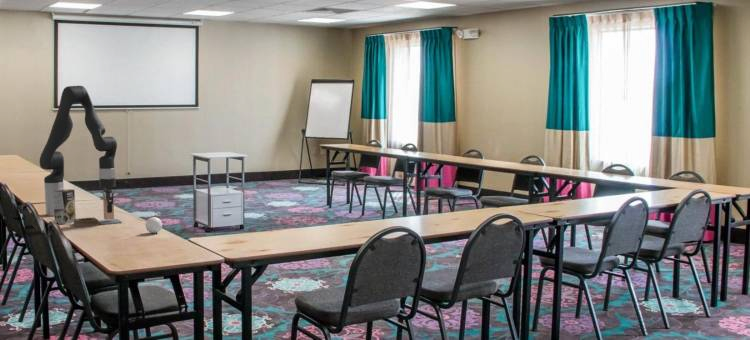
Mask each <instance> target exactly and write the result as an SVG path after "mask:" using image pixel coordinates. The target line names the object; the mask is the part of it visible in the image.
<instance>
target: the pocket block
mask: <svg viewBox="0 0 750 340" xmlns="http://www.w3.org/2000/svg"><path fill="white" fill-rule="evenodd" d="M98 221H99V219H97V218H96V217H94V216H93V217H82V218H76V219H74V222H73V225H74V226H76V227H77V228H81V227H92V226H99V223H98Z"/></svg>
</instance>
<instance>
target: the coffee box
mask: <svg viewBox="0 0 750 340" xmlns="http://www.w3.org/2000/svg"><path fill="white" fill-rule="evenodd" d="M53 194H54V216H53V219H54V222H55V221H56V222H57V223H58V224H57V225H59V224H60V225H67V224H70V223H74V219H77V218H76V217H77V216H76V198H75V197H76V195H75V189H64V190H59V191H54V192H53Z"/></svg>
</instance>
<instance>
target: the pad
mask: <svg viewBox="0 0 750 340" xmlns="http://www.w3.org/2000/svg"><path fill="white" fill-rule="evenodd" d="M114 224H115V225H116V224H123V221H121V220H119V219H118V218H114V219H108V220H106V219H104V220H98V225H101V226H106V225H114Z"/></svg>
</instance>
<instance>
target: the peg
mask: <svg viewBox="0 0 750 340" xmlns="http://www.w3.org/2000/svg"><path fill="white" fill-rule="evenodd" d="M102 202H103V205H102V206H103V219H104V220H111V219H115V208H114V207H115V206H114V205H115V204H114V203H115V202H113V204H112V212H111V213H108V212H107V201H106V200H104V201H103V200H102ZM109 202H111V200H109Z"/></svg>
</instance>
